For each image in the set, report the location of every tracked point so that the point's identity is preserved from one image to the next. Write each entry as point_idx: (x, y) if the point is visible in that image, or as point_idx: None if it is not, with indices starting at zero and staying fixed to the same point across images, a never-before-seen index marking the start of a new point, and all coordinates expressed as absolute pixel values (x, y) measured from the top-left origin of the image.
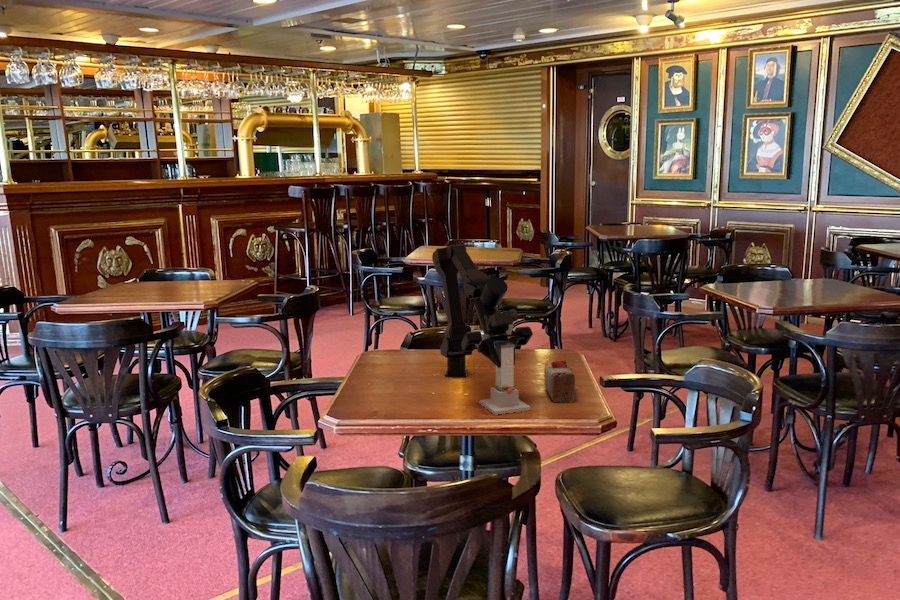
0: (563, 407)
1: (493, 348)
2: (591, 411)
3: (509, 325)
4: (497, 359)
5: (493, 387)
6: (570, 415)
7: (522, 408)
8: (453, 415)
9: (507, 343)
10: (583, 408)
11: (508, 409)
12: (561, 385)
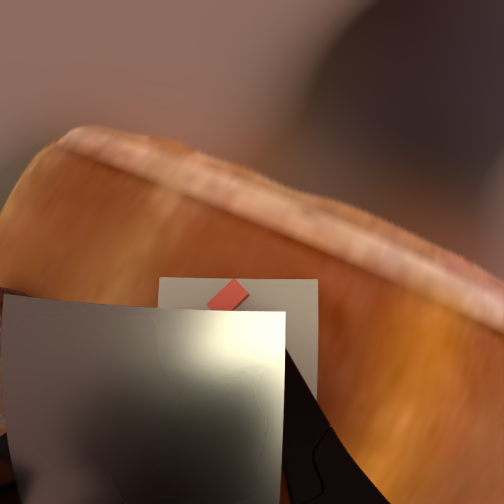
0: (60, 259)
1: (316, 497)
2: (31, 197)
3: None
4: (290, 377)
5: None
6: (88, 185)
7: (194, 278)
8: (444, 338)
9: (72, 412)
10: (28, 227)
11: (255, 282)
12: (2, 297)
